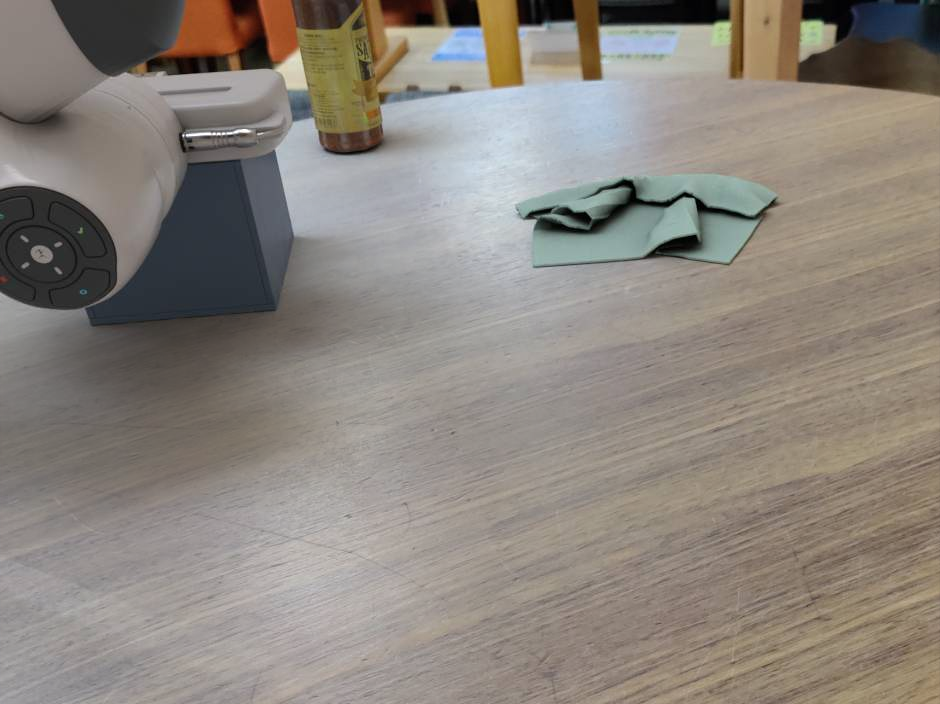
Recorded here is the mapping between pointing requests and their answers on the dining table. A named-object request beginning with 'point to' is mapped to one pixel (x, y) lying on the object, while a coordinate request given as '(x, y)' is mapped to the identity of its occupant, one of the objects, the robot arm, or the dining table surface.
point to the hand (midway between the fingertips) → (148, 84)
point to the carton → (212, 247)
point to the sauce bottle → (339, 73)
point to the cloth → (646, 218)
